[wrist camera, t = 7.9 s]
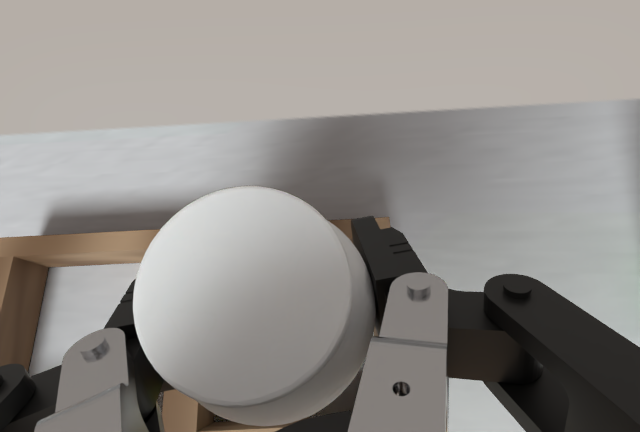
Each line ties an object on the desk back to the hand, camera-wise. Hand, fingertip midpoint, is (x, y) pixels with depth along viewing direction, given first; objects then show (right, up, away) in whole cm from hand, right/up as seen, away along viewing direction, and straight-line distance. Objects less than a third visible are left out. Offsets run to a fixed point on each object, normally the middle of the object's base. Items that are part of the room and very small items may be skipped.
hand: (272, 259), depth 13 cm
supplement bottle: (+1, -3, +4) cm, 5 cm away
